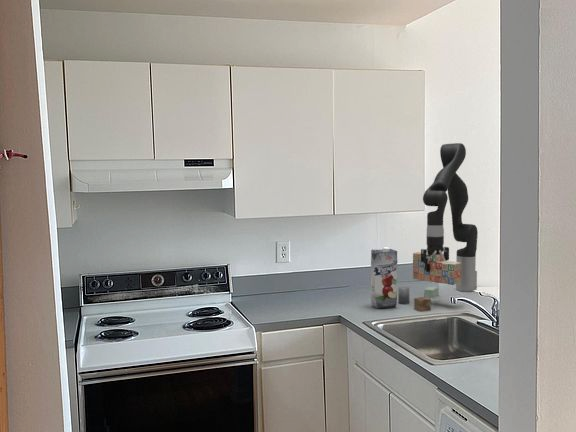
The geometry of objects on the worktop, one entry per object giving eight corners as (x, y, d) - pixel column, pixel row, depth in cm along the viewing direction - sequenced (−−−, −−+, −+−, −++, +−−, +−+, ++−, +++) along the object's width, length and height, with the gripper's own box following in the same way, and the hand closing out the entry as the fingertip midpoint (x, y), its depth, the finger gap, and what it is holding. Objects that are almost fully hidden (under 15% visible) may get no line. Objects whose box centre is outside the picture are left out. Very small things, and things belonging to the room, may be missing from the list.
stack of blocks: (461, 283, 266) (461, 255, 265) (454, 285, 261) (454, 257, 260) (420, 277, 281) (420, 250, 280) (412, 279, 277) (412, 252, 276)
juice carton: (368, 305, 272) (369, 246, 269) (389, 303, 275) (390, 245, 272) (377, 309, 263) (377, 248, 261) (399, 307, 266) (399, 247, 264)
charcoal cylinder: (405, 301, 279) (405, 286, 278) (411, 303, 274) (411, 288, 274) (396, 302, 277) (396, 287, 276) (402, 304, 272) (402, 289, 272)
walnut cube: (423, 308, 266) (423, 296, 266) (430, 310, 262) (430, 299, 261) (414, 309, 264) (414, 298, 264) (421, 311, 260) (421, 300, 259)
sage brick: (430, 294, 293) (430, 286, 293) (438, 295, 291) (438, 287, 291) (424, 297, 287) (424, 289, 287) (432, 298, 285) (432, 290, 284)
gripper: (442, 233, 276) (442, 268, 278) (416, 235, 270) (416, 271, 272) (453, 234, 269) (453, 270, 271) (427, 237, 264) (427, 273, 265)
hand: (434, 270), depth 271 cm, fingers closed on stack of blocks, 7 cm apart
